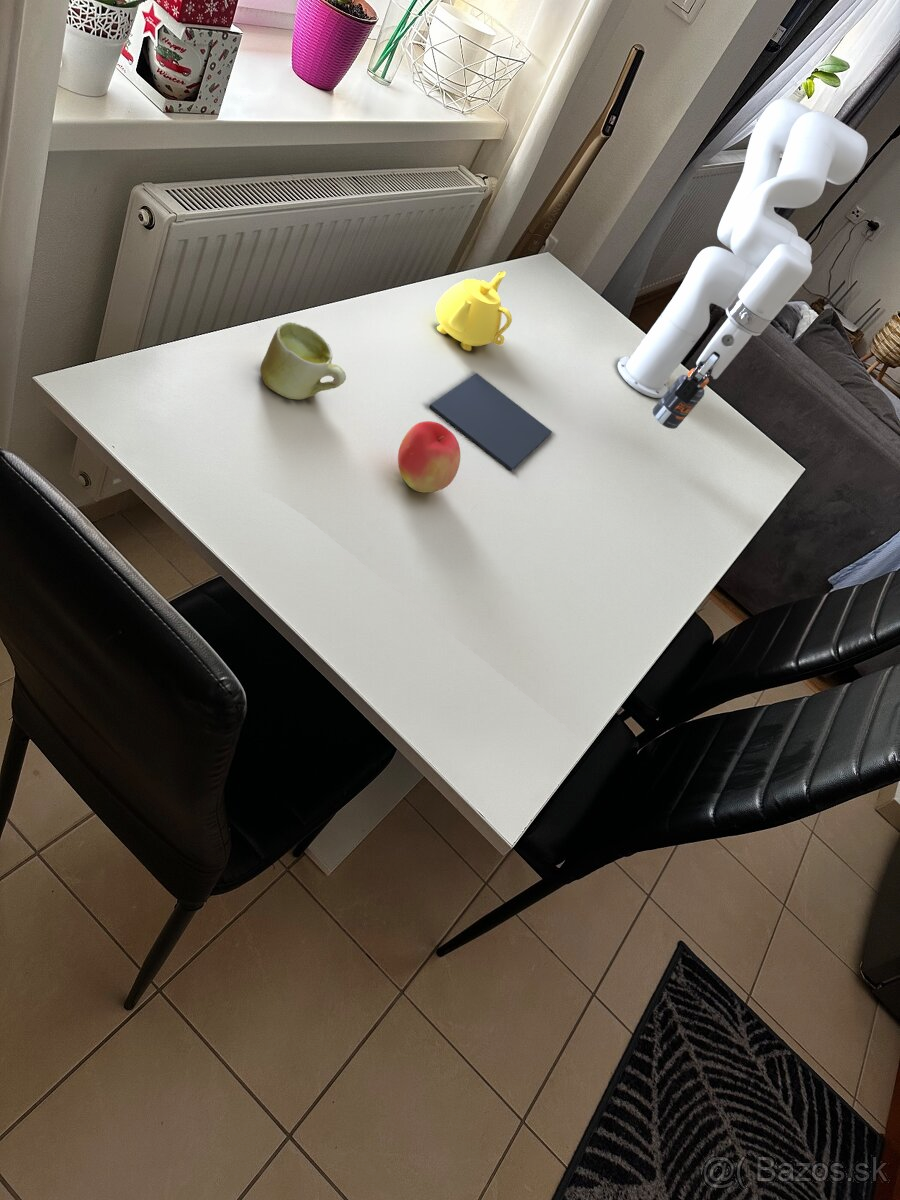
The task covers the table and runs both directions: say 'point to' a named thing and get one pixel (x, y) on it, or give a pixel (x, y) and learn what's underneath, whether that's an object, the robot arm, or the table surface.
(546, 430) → the mat
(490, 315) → the teapot
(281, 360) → the mug
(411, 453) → the apple
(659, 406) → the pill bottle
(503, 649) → the table surface
